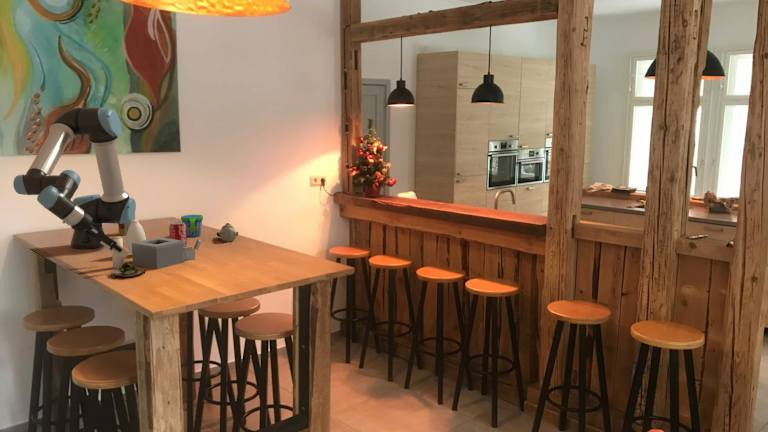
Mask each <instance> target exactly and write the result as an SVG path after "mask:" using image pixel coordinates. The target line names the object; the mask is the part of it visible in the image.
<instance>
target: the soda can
mask: <svg viewBox="0 0 768 432" xmlns="http://www.w3.org/2000/svg"><path fill="white" fill-rule="evenodd" d="M168 229H169V230H168V231H169V232H168V233H169V234H168V235H169V239H175V240H182V241H183V244H184V250H186V248H187V247H188V242H187V241H188V240H187V239H188V237H186V225H185V222H182V221H172V222H170V223H169V227H168Z"/></svg>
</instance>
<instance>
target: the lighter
mask: <svg viewBox="0 0 768 432" xmlns="http://www.w3.org/2000/svg"><path fill="white" fill-rule="evenodd" d="M201 244H202V240H201V239H200V240H199V239H196V242H195V244H194V246H193V247H192V246H187V248H186V250H184V261H190V260H191V261H193V260H196V251H199V249H200V246H201Z"/></svg>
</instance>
